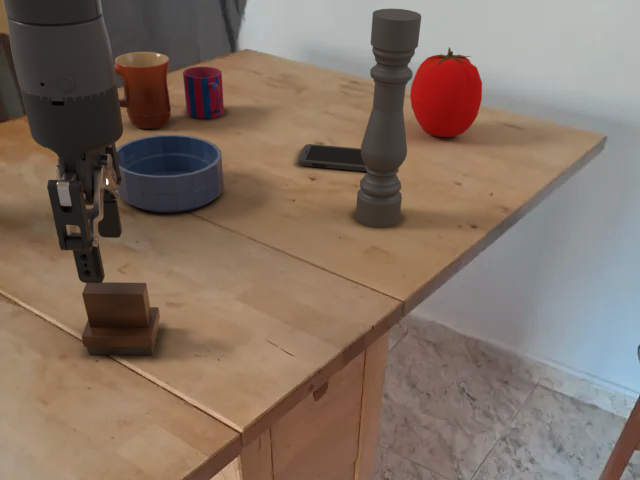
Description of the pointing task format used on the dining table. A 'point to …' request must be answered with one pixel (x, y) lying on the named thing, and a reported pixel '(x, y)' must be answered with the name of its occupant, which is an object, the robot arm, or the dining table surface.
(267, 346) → the dining table surface
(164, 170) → the bowl
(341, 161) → the cell phone
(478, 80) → the tomato
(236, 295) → the dining table surface
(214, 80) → the cup
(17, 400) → the dining table surface
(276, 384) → the dining table surface
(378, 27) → the candle holder
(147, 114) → the mug
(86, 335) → the brown wooden stepped block
